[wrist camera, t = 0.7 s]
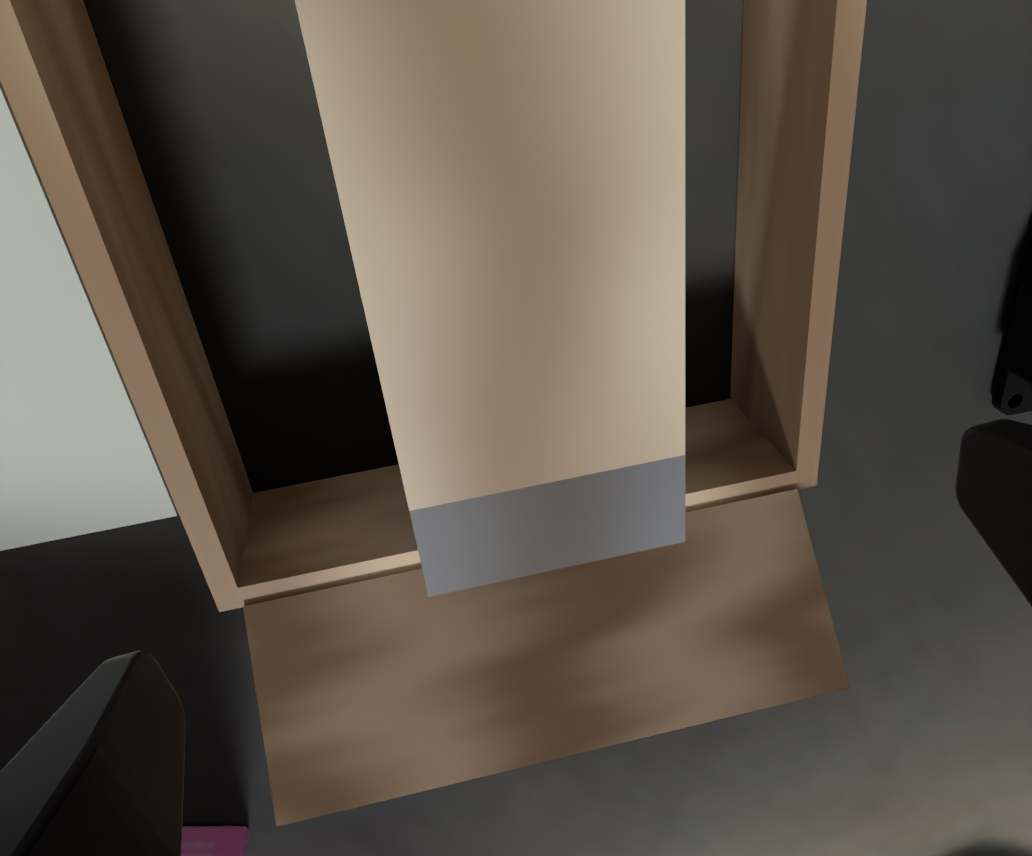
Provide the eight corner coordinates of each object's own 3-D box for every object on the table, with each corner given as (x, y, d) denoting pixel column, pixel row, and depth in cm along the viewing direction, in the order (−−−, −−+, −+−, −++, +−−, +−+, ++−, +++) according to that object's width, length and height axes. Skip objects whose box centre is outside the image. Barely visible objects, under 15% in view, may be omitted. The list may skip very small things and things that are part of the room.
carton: (792, -513, 14) (1149, -896, 8) (743, 515, 26) (871, 687, 20) (-115, -452, 12) (-568, -876, 6) (275, 616, 24) (252, 838, 18)
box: (546, -52, 17) (685, -69, 10) (578, 365, 22) (685, 541, 15) (311, -22, 16) (291, -17, 10) (400, 399, 22) (428, 597, 15)
